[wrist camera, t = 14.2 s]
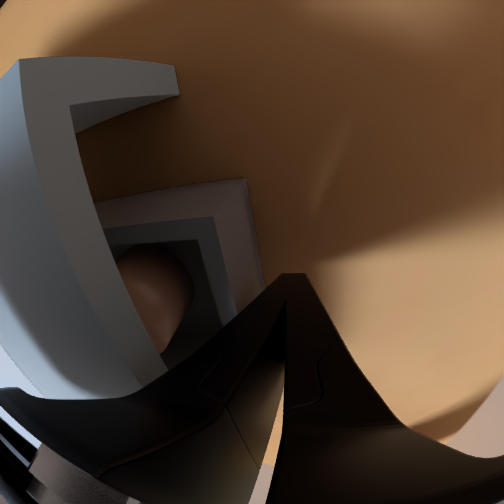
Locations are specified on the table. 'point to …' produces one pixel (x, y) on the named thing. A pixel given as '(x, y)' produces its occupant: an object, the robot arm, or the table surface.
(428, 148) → the table surface
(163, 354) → the tray
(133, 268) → the tan rounded dome
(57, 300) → the grey small bench
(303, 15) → the table surface
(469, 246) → the table surface
